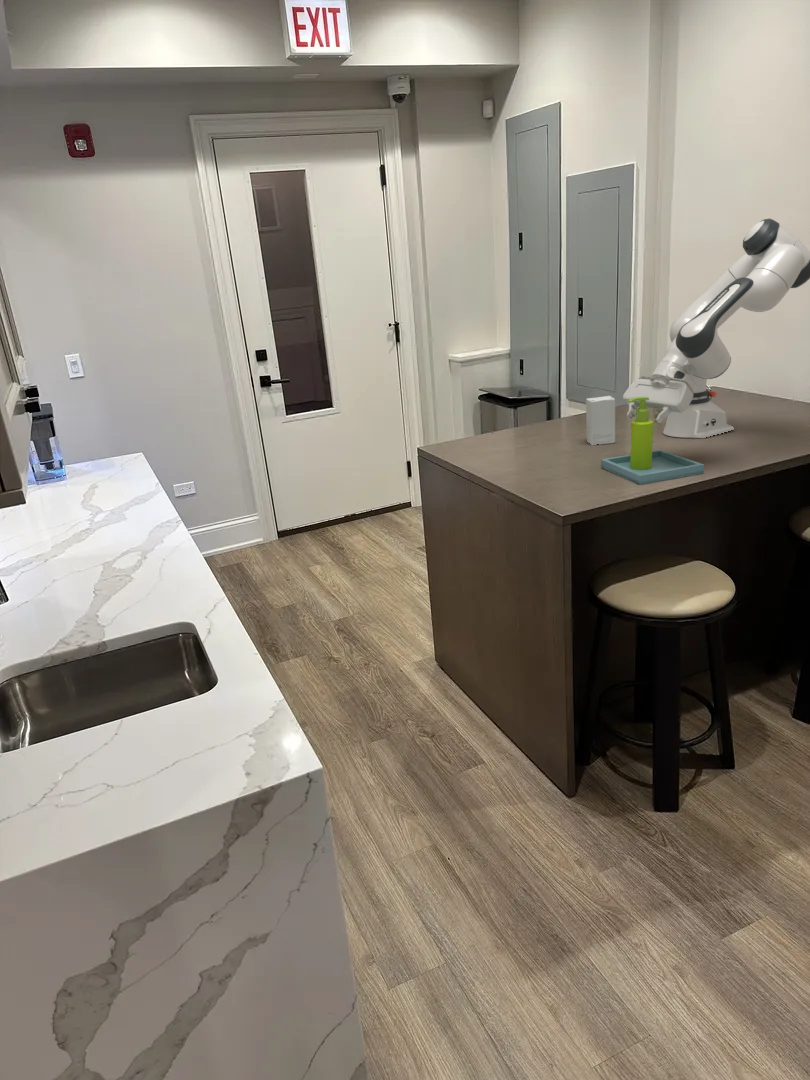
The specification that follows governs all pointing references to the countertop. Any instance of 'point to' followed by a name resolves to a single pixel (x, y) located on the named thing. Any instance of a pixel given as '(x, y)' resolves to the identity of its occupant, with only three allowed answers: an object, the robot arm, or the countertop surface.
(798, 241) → the robot arm
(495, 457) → the countertop surface
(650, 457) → the soap dispenser
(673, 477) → the tray
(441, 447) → the countertop surface
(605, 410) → the skincare box
